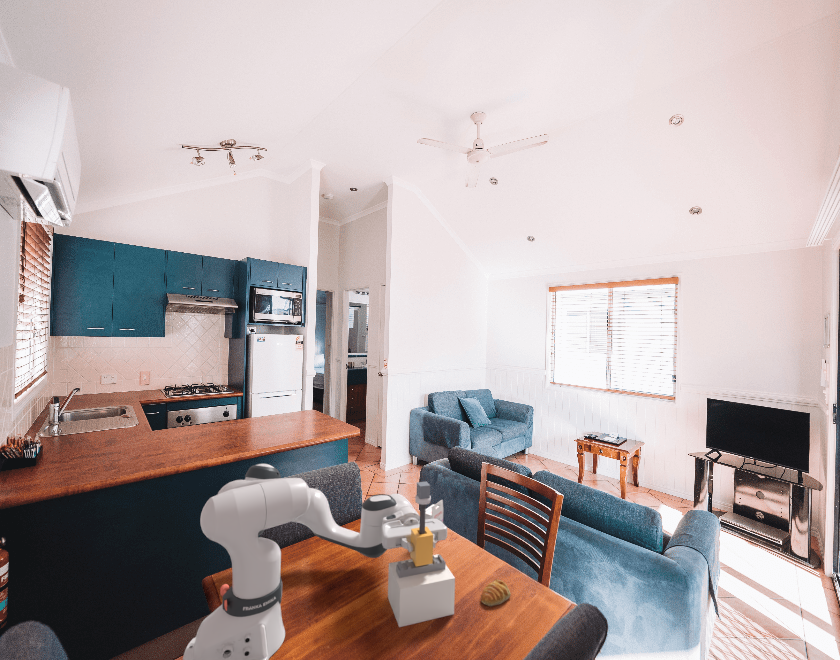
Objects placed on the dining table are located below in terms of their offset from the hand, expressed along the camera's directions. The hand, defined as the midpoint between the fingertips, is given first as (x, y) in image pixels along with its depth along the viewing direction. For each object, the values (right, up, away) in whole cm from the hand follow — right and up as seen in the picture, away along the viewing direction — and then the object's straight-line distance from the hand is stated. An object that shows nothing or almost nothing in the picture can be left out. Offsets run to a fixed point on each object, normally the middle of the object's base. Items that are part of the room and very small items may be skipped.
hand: (422, 547), depth 107 cm
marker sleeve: (0, -4, +1) cm, 4 cm away
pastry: (+22, -18, +5) cm, 29 cm away
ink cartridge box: (+4, -18, +35) cm, 40 cm away
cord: (-1, -7, +1) cm, 7 cm away
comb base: (-1, -17, +1) cm, 17 cm away
